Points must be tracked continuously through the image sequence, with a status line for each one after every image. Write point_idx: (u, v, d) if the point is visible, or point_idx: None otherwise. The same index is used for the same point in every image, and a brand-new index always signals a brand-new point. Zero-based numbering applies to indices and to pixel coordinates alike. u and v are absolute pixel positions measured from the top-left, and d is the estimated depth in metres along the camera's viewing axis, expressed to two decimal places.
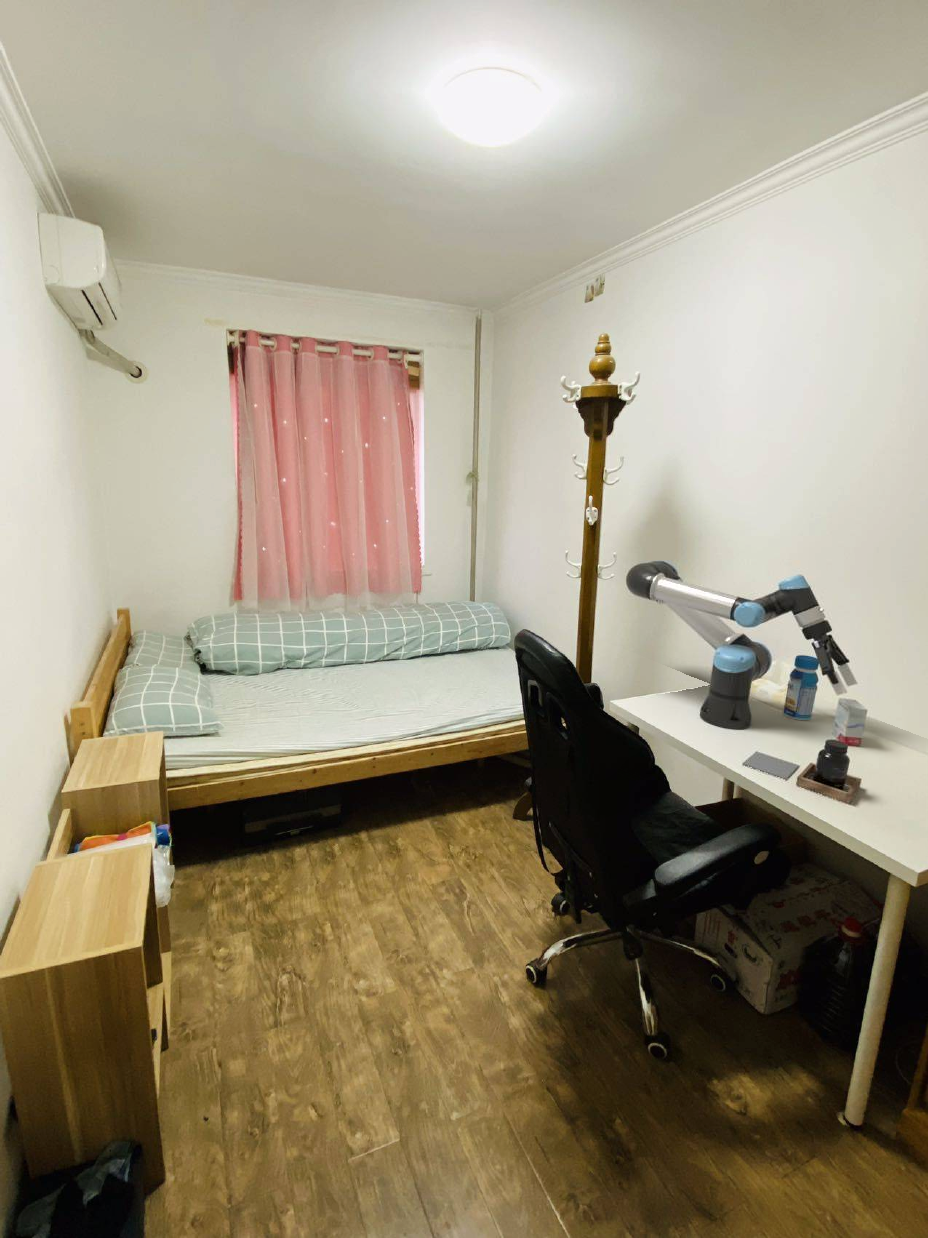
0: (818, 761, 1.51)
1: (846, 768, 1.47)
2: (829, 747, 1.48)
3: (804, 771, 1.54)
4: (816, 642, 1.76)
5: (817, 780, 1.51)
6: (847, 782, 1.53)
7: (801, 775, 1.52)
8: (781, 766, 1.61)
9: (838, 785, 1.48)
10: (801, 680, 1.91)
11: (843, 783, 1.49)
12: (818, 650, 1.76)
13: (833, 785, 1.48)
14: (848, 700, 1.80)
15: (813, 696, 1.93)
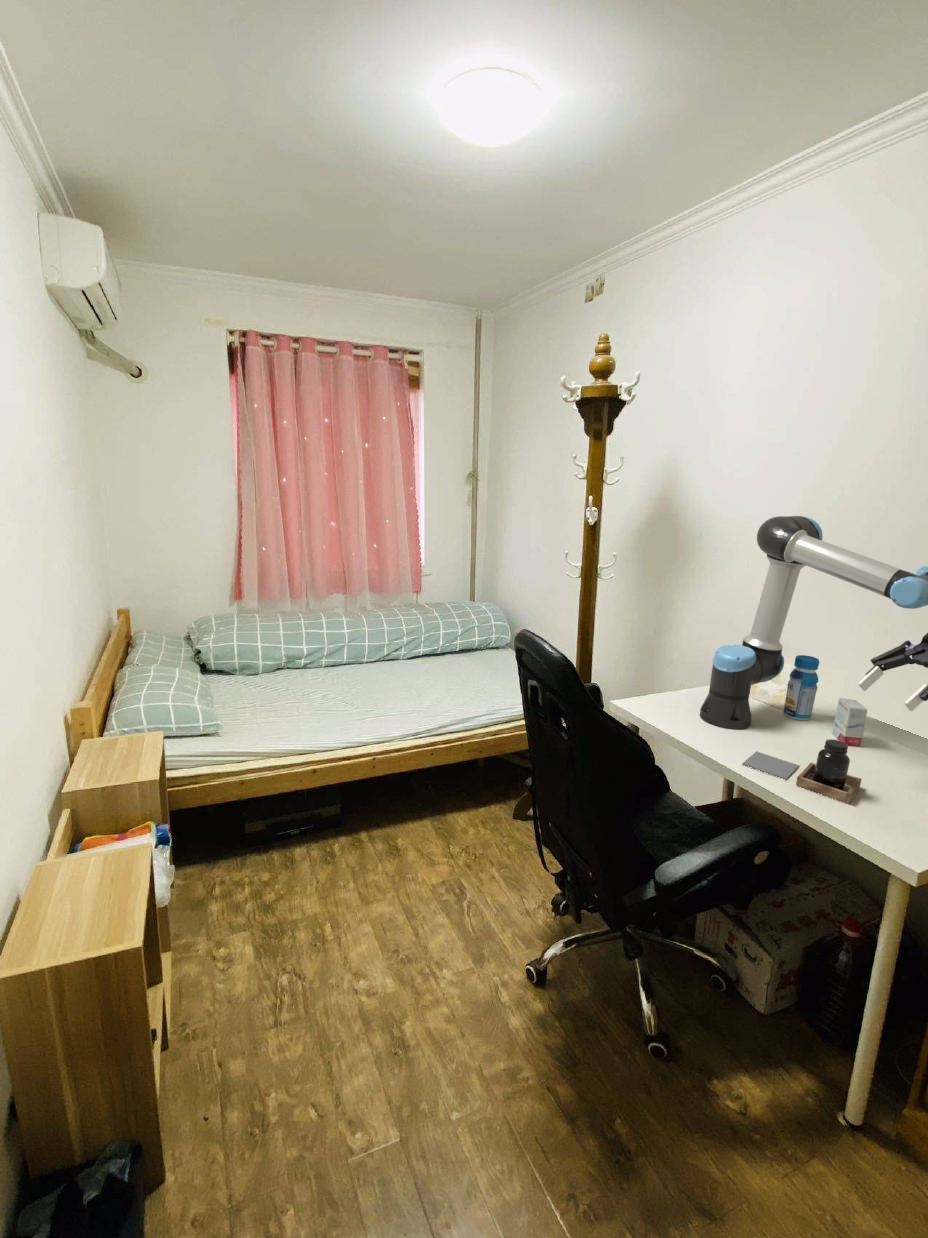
0: (818, 761, 1.51)
1: (846, 768, 1.47)
2: (829, 747, 1.48)
3: (804, 771, 1.54)
4: None
5: (817, 780, 1.51)
6: (847, 782, 1.53)
7: (801, 775, 1.52)
8: (781, 766, 1.61)
9: (838, 785, 1.48)
10: (801, 680, 1.91)
11: (843, 783, 1.49)
12: None
13: (833, 785, 1.48)
14: (848, 700, 1.80)
15: (813, 696, 1.93)
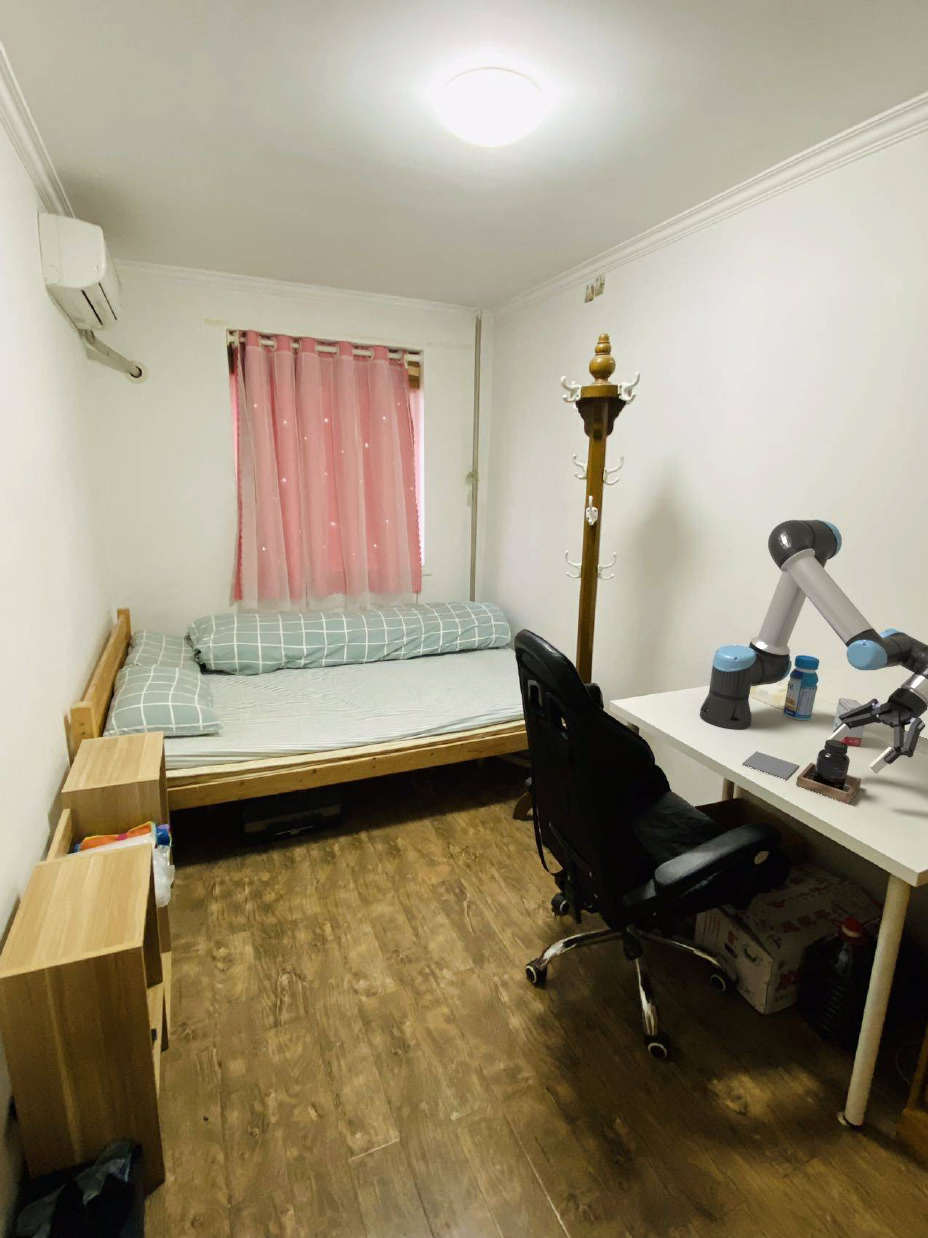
0: (818, 761, 1.51)
1: (846, 768, 1.47)
2: (829, 747, 1.48)
3: (804, 771, 1.54)
4: (923, 723, 1.42)
5: (817, 780, 1.51)
6: (847, 782, 1.53)
7: (801, 775, 1.52)
8: (781, 766, 1.61)
9: (838, 785, 1.48)
10: (801, 680, 1.91)
11: (843, 783, 1.49)
12: (917, 730, 1.42)
13: (833, 785, 1.48)
14: (848, 700, 1.80)
15: (813, 696, 1.93)
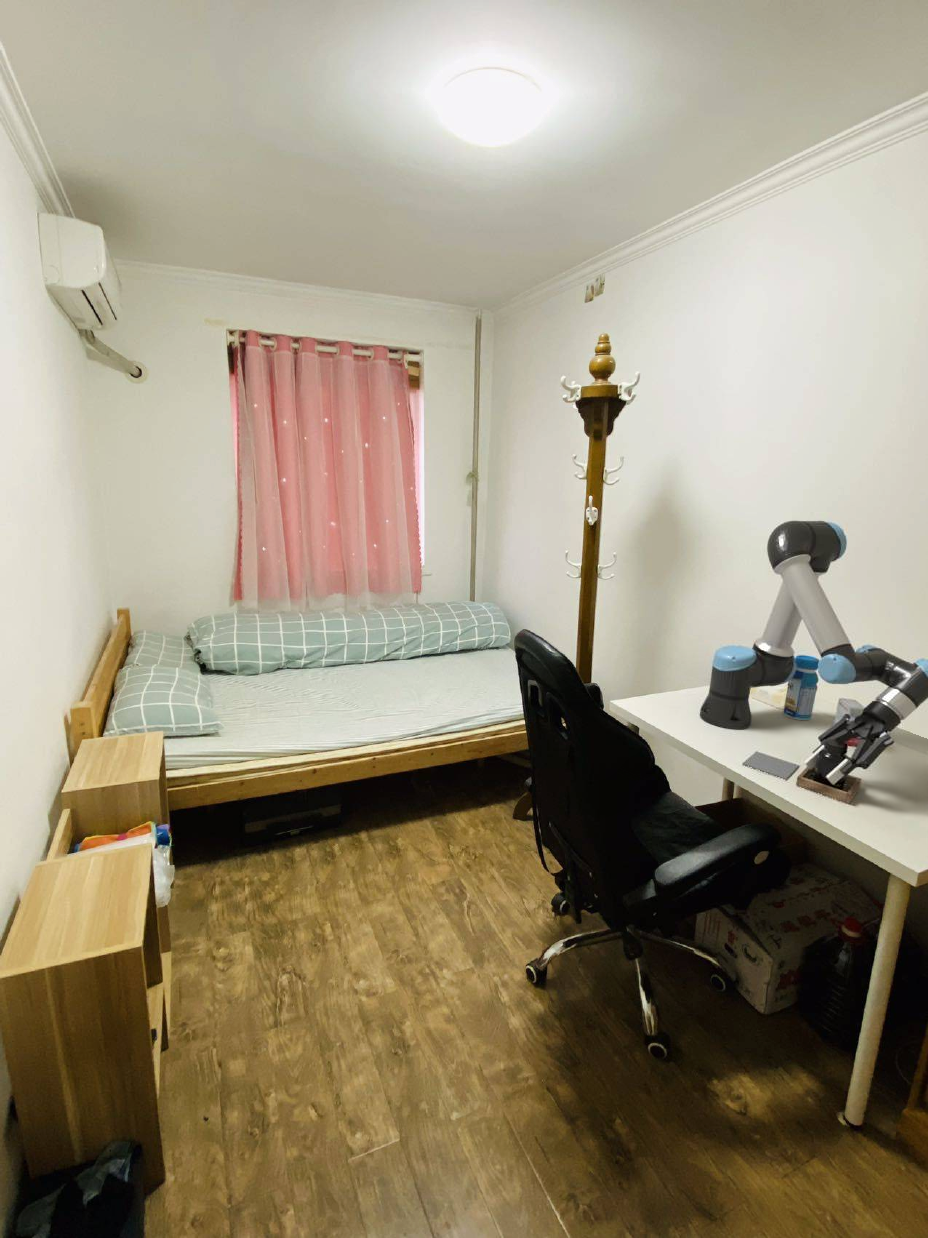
0: (818, 761, 1.51)
1: None
2: (829, 747, 1.48)
3: (804, 771, 1.54)
4: (891, 740, 1.43)
5: (817, 780, 1.51)
6: (847, 782, 1.53)
7: (801, 775, 1.52)
8: (781, 766, 1.61)
9: (838, 785, 1.48)
10: (801, 680, 1.91)
11: (843, 783, 1.49)
12: (882, 745, 1.44)
13: (833, 785, 1.48)
14: (848, 700, 1.80)
15: (813, 696, 1.93)
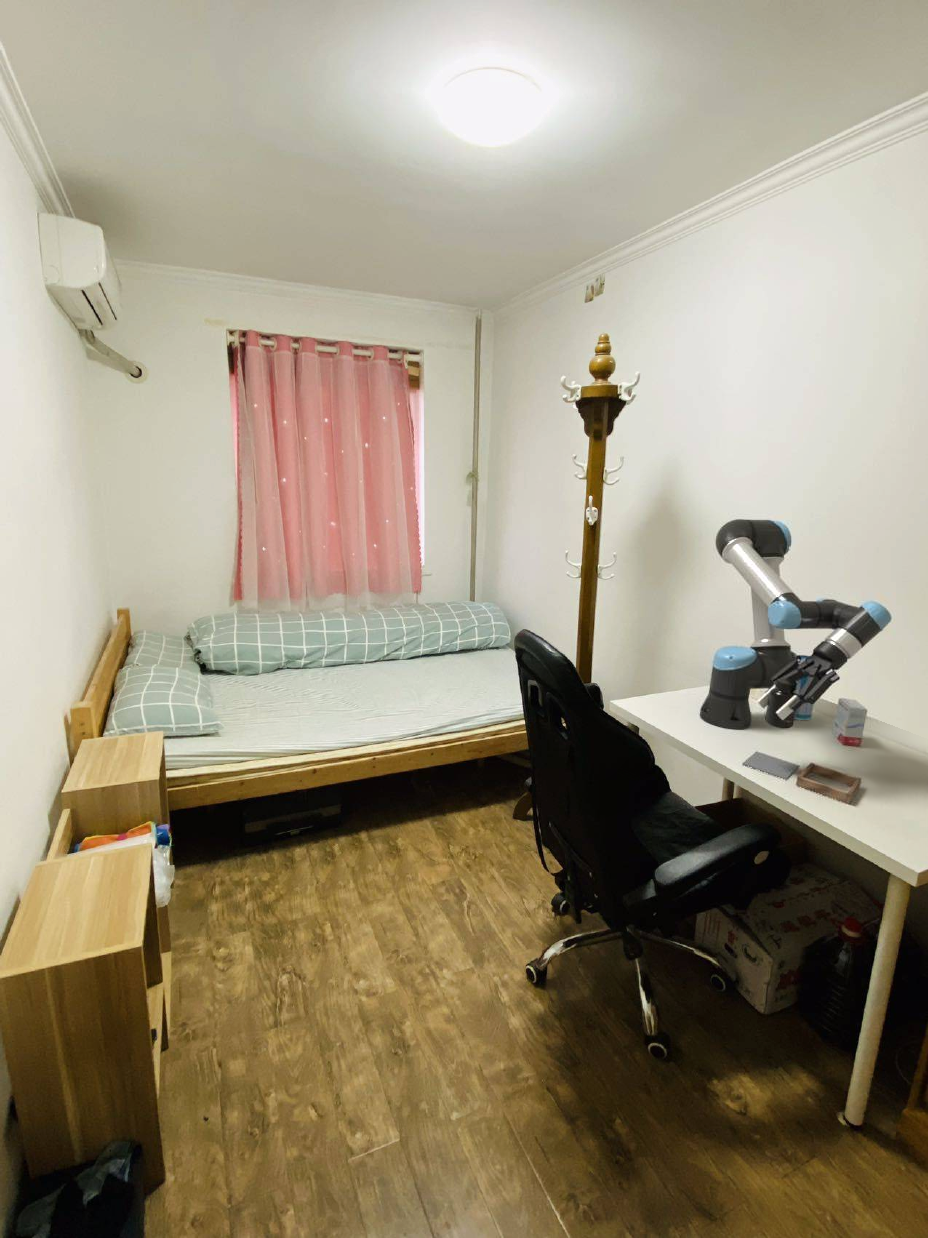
0: (769, 699, 1.58)
1: None
2: (779, 685, 1.55)
3: (804, 771, 1.54)
4: (837, 676, 1.50)
5: (768, 717, 1.58)
6: (847, 782, 1.53)
7: (801, 775, 1.52)
8: (781, 766, 1.61)
9: (787, 721, 1.55)
10: (801, 680, 1.91)
11: (792, 719, 1.56)
12: (828, 681, 1.51)
13: (783, 721, 1.55)
14: (848, 700, 1.80)
15: None
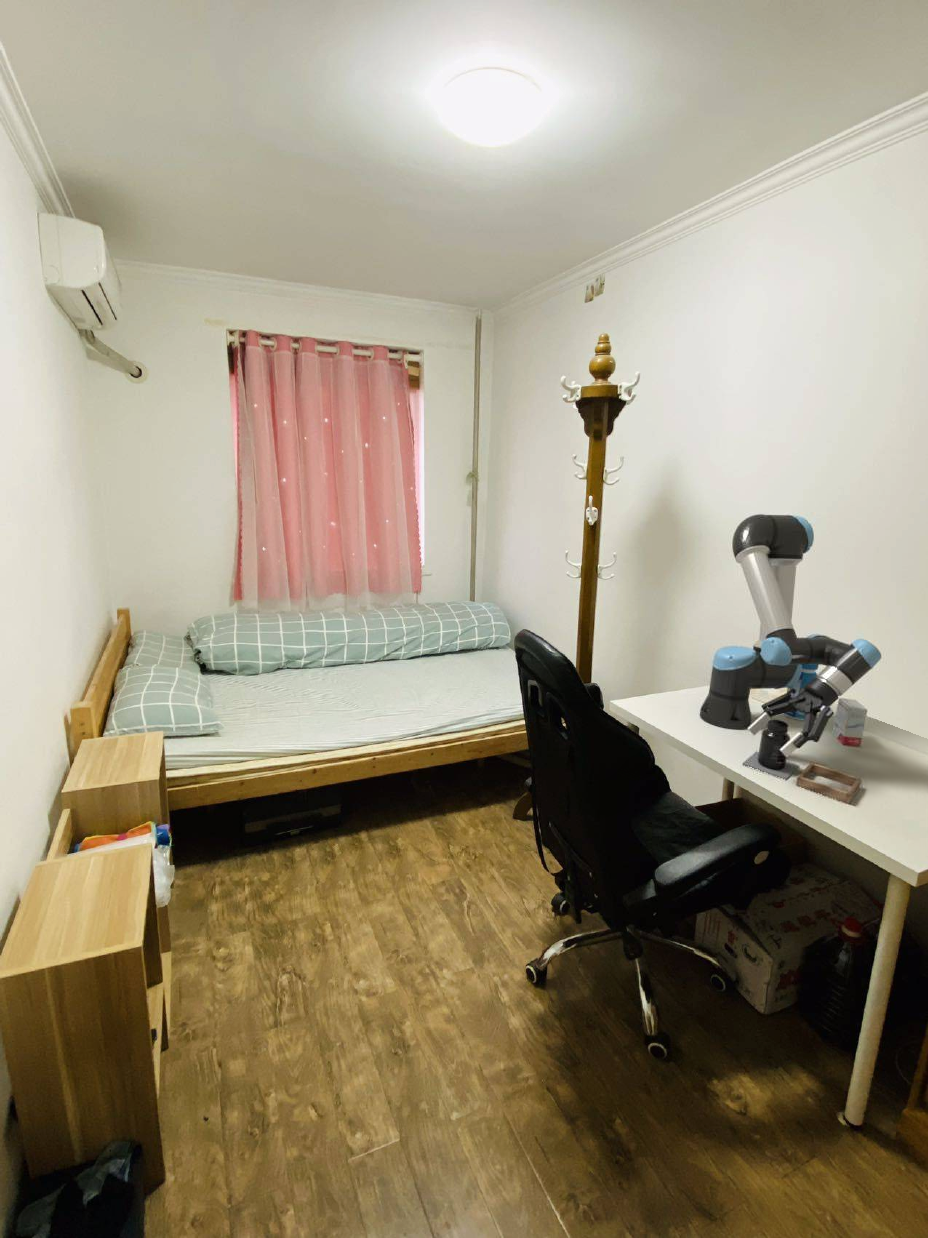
0: (761, 740, 1.61)
1: None
2: (771, 726, 1.58)
3: (804, 771, 1.54)
4: (831, 711, 1.53)
5: (760, 758, 1.61)
6: (847, 782, 1.53)
7: (801, 775, 1.52)
8: None
9: (779, 762, 1.58)
10: (801, 680, 1.91)
11: (784, 760, 1.58)
12: (825, 717, 1.52)
13: (775, 762, 1.58)
14: (848, 700, 1.80)
15: None
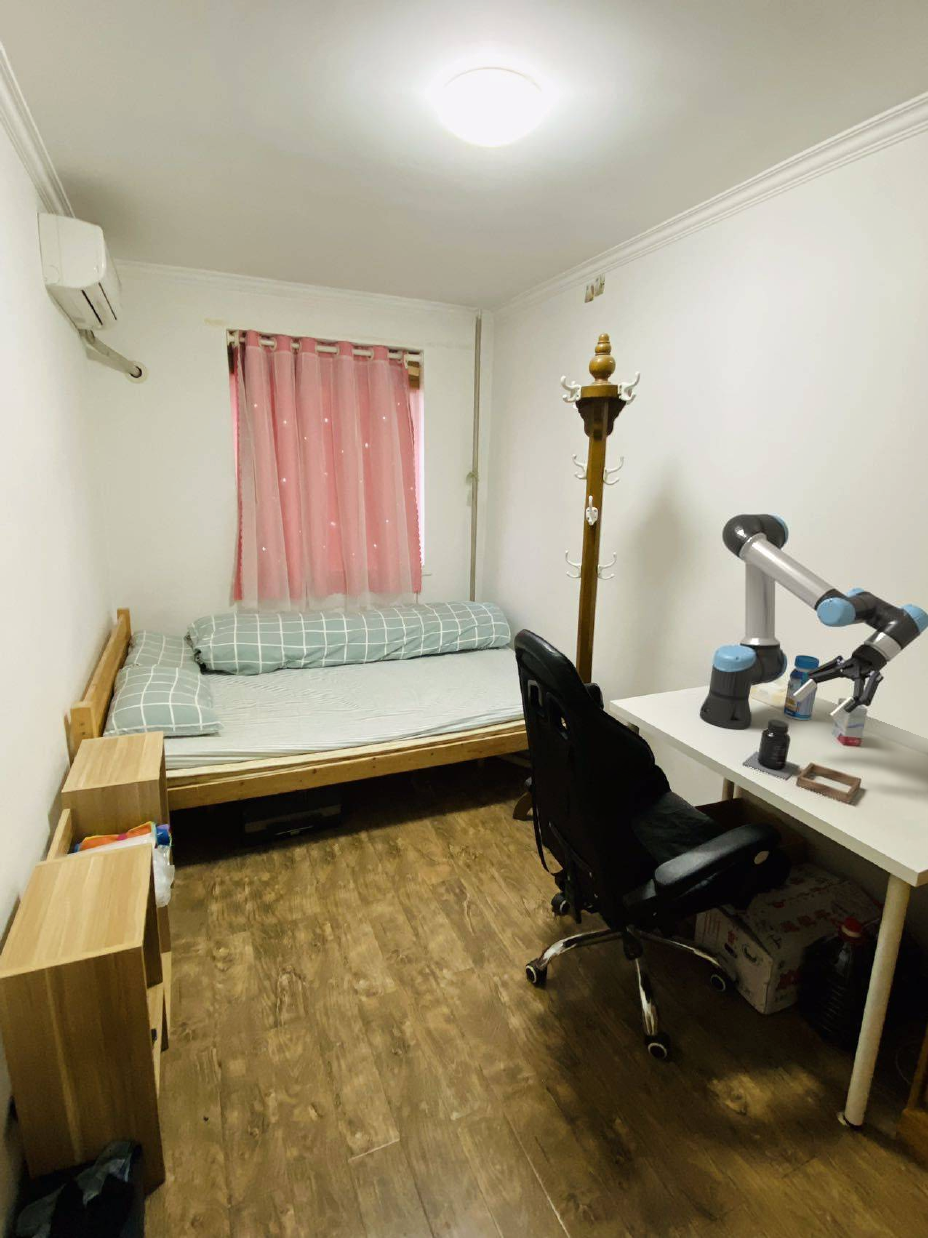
0: (761, 740, 1.61)
1: (786, 746, 1.57)
2: (771, 727, 1.58)
3: (804, 771, 1.54)
4: (881, 675, 1.53)
5: (760, 758, 1.61)
6: (847, 782, 1.53)
7: (801, 775, 1.52)
8: None
9: (779, 763, 1.58)
10: (801, 680, 1.91)
11: (784, 760, 1.58)
12: (875, 681, 1.52)
13: (775, 762, 1.58)
14: None
15: (813, 696, 1.93)
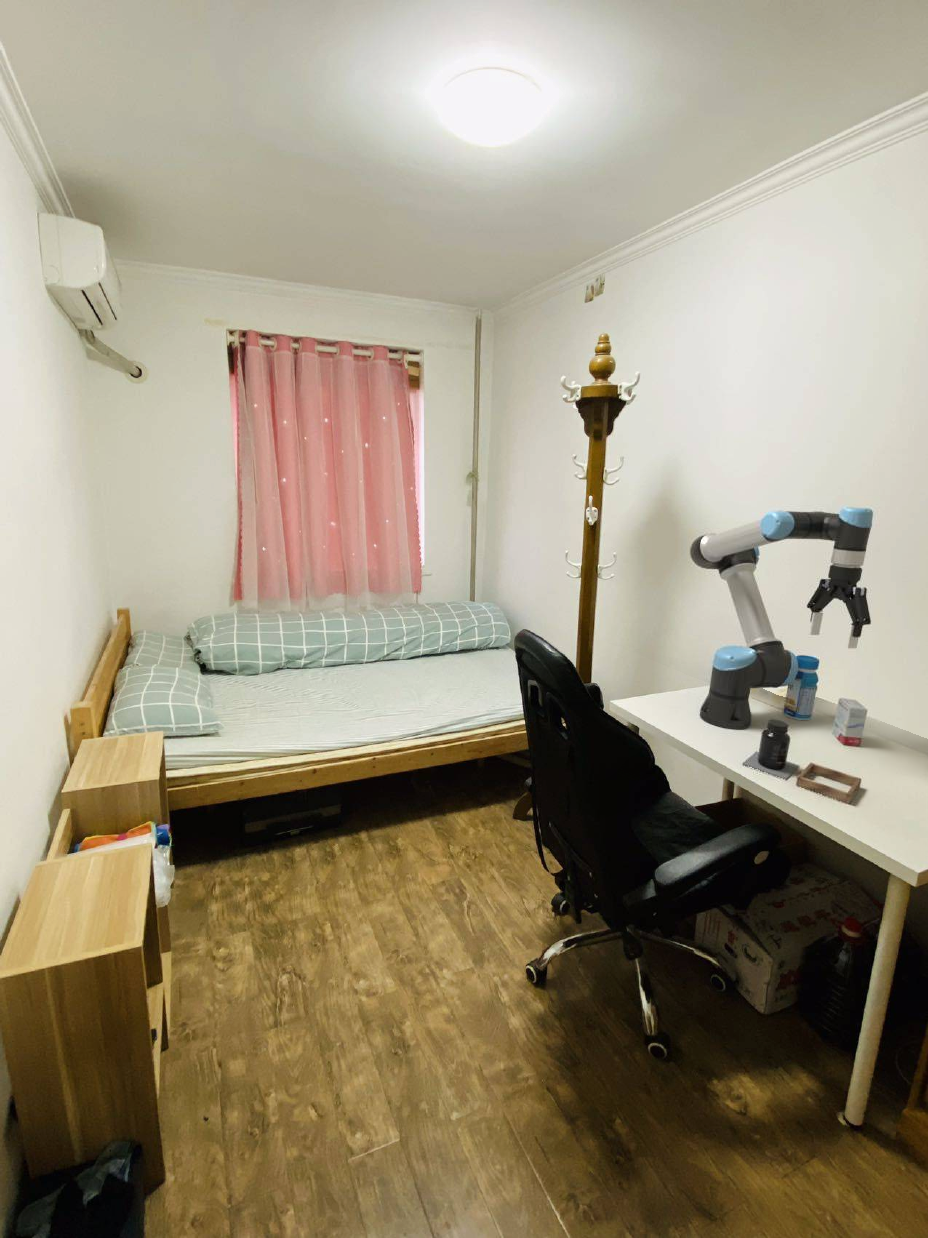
0: (761, 740, 1.61)
1: (786, 746, 1.57)
2: (771, 726, 1.58)
3: (804, 771, 1.54)
4: (863, 589, 1.58)
5: (760, 758, 1.61)
6: (847, 782, 1.53)
7: (801, 775, 1.52)
8: None
9: (779, 763, 1.58)
10: (801, 680, 1.91)
11: (784, 760, 1.58)
12: (861, 598, 1.58)
13: (775, 762, 1.58)
14: (848, 700, 1.80)
15: (813, 696, 1.93)
